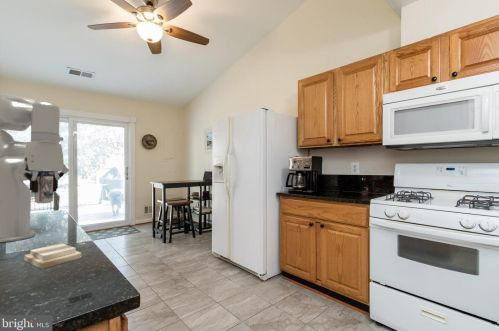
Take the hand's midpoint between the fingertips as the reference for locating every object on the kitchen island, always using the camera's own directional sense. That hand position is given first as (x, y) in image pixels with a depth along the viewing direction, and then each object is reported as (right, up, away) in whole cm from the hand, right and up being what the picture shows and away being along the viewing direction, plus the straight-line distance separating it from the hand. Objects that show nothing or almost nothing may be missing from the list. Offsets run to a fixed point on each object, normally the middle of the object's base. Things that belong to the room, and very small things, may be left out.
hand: (44, 191), depth 85 cm
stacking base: (+11, -19, -10) cm, 25 cm away
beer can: (0, -4, 0) cm, 4 cm away
